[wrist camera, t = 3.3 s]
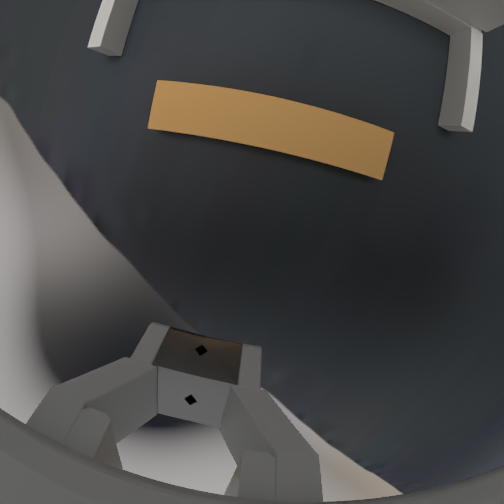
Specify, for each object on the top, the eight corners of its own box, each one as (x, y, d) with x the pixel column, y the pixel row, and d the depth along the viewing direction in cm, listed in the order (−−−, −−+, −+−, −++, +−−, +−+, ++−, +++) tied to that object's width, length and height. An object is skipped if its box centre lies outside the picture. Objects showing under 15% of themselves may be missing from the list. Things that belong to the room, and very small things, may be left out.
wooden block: (380, 132, 17) (394, 132, 15) (369, 174, 18) (382, 180, 16) (170, 86, 17) (157, 80, 15) (161, 128, 18) (147, 128, 16)
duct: (461, 34, 13) (482, 25, 10) (448, 130, 16) (472, 132, 14) (141, -37, 13) (126, -54, 10) (109, 56, 16) (87, 47, 13)
